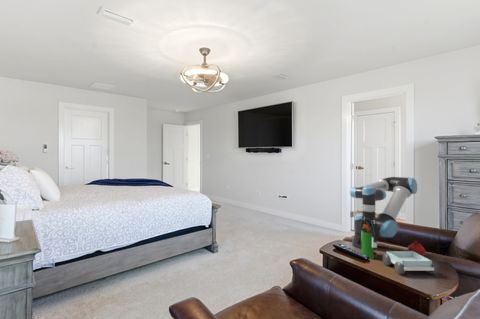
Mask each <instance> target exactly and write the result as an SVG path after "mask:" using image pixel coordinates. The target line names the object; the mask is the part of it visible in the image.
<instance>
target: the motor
mask: <svg viewBox="0 0 480 319" xmlns="http://www.w3.org/2000/svg"><path fill="white" fill-rule="evenodd" d="M363 228H366V229H367V230H362V249H361V253H362V254H364V255H366V256H368V257H369V258H370V260H374V259H377V258H378V254H377V252H375V251H376V250H377V248H373V247H372V236H373V235H372V233H371V230H369V227H368V225H363ZM369 258H368V259H369Z"/></svg>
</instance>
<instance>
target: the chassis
mask: <svg viewBox="0 0 480 319" xmlns="http://www.w3.org/2000/svg"><path fill="white" fill-rule="evenodd" d="M385 253H386V254H385ZM385 253H384V254H382V263H383V265H385V266H391V265H392V264H393V265H394V270H395V272H396V273H397V275H404V274H405V273H406V271H409V272H410V271H412V272H413V271H418V272H419V271H422V272H423V271H426V273H427V274H429V275H436V274H437V272H438V268H437V266H436V264H435V263H434V262H433V260H431V259H429V258H427V257H425V256H421V255H419V254H417V253H416V252H414V251H408V250H407V251H406V250H405V251H404V250H401V251H397V250H395V251H394V250H393V251H392V250H389V251H388V250H387V251H386V252H385Z"/></svg>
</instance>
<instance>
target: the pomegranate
mask: <svg viewBox="0 0 480 319" xmlns="http://www.w3.org/2000/svg"><path fill="white" fill-rule="evenodd" d="M407 251H414V252H416V253H417V254H419V255H421V256H423V257H425V255H426V252H427V251H426V249H425V247H423V245H422V243H420V242H418V241H417V240H414V241H412V242H411V243H410V244H409V245H408V246H407Z"/></svg>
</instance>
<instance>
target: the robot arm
mask: <svg viewBox="0 0 480 319" xmlns="http://www.w3.org/2000/svg"><path fill="white" fill-rule="evenodd" d="M386 192H393V193H392V195H391V197H390V199H389V201H388V203H387V204H386V206H385V208H384V209H383V210H382V212H381V213H380V212H379V214H378V215H377V217H376V202H378V201H379V202H381V201H383V200H385V199H386V197H387V193H386ZM417 192H418V183H417V180H416V179H415V178H413V177H409V176H408V177H401V176H400V177H399V176H390V177H389V176H388V177H385V178H380V179H378V180H377V181H376V182H372V183H370V184H366V185H364V186H358V187H357V186H356V187H355V186H354V187H351V188H350V190H349V194H350V197H351V198H355V199H361V200H362V205H361V207H362V212H361V213H357V214H355V215H354V235H353V238H352V240H351V241H352V242H351V245H352V246H353V247H355V248H358V249H361V250H362V230H367V229H366V228H363V225H368V227H369V230H371V233H372V235H373V236H372V247H373V248H376V249H377V248H378V238H380V237H383V238H393V237H395V235H396V234H397V233H398V225H399V224H398V222H397V218H398V215H399V213H400V212H401V209H402V207H403V205H404V204H405V202H406V199H409V198H410V197H411V196H412V195H415V194H417Z"/></svg>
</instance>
